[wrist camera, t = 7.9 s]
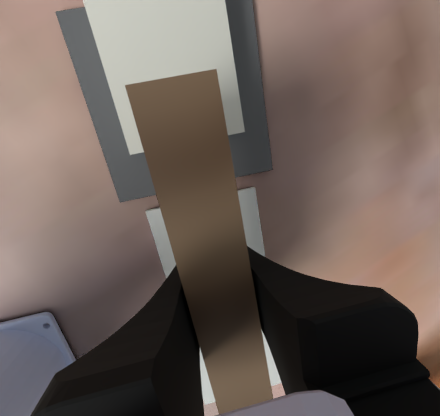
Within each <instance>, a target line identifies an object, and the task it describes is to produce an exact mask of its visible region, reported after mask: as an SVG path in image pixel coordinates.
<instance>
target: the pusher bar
mask: <svg viewBox="0 0 440 416" xmlns="http://www.w3.org/2000/svg"><path fill="white" fill-rule="evenodd" d="M125 88H126V91H127V95H128V98H129V102H130V105H131V109H132V112H133V116H134V119H135V122H136V126H137V129H138V133H139V136H140V140H141V143H142V147H143V150H144V154H145V157H146V161H147V164H148V168H149V171H150V175H151V178H152V182H153V185H154V189H155V192H156V196H157V199H158V203H159V206H160V210H161V213H162V217H163V220H164V224H165V227H166V231H167V234H168V238H169V241H170V245H171V248H172V252H173V255H174V259H175V262H176V265H177V269H178V272H179V276H180V279H181V283H182V286H183V290H184V293H185V297H186V300H187V304H188V307H189V311H190V314H191V318H192V321H193V325H194V328H195V332H196V335H197V339H198V342H199V346H200V349H201V353H202V356H203V360H204V363H205V367H206V370H207V374H208V377H209V381H210V384H211V388H212V391H213V395H214V398H215V401H216V405H217V408H218V412H219V414H222V413H226V412H229V411H233V410H236V409H240V408H243V407H247V406H250V405H254V404H257V403H260V402H264V401H267V400H271V399H273V395H272V389H271V383H270V377H269V371H268V365H267V360H266V354H265V348H264V342H263V336H262V331H261V325H260V319H259V313H258V307H257V302H256V296H255V290H254V284H253V278H252V272H251V267H250V261H249V255H248V249H247V243H246V238H245V232H244V226H243V220H242V214H241V208H240V203H239V197H238V191H237V185H236V179H235V174H234V168H233V162H232V156H231V150H230V145H229V139H228V133H227V127H226V121H225V115H224V110H223V104H222V98H221V92H220V86H219V81H218V75H217V69H213V70H207V71H201V72H196V73H190V74H185V75H179V76H173V77H168V78H162V79H157V80H151V81H145V82H140V83H134V84H129V85H125Z"/></svg>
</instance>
